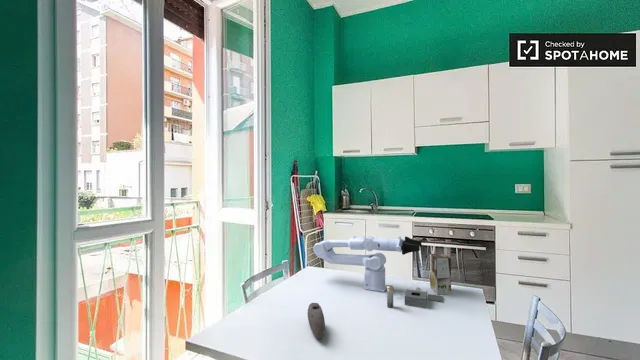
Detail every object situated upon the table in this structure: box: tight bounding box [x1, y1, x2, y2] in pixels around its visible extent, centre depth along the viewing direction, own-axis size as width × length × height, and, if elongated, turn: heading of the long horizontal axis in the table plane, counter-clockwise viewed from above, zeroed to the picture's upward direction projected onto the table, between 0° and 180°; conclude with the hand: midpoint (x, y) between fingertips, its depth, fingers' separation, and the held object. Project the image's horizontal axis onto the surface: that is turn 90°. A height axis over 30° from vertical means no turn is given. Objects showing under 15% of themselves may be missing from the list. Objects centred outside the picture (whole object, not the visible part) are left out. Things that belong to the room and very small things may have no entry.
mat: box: [427, 293, 444, 303], centre depth 121 cm, size 6×6×1 cm
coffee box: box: [429, 252, 452, 295], centre depth 130 cm, size 9×6×16 cm
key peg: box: [386, 284, 394, 309], centre depth 114 cm, size 2×2×8 cm
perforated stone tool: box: [307, 302, 326, 340], centre depth 95 cm, size 15×5×7 cm, turn 7°
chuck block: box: [404, 286, 428, 309], centre depth 120 cm, size 8×15×4 cm, turn 156°
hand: (420, 245), depth 126 cm, fingers open, 7 cm apart
